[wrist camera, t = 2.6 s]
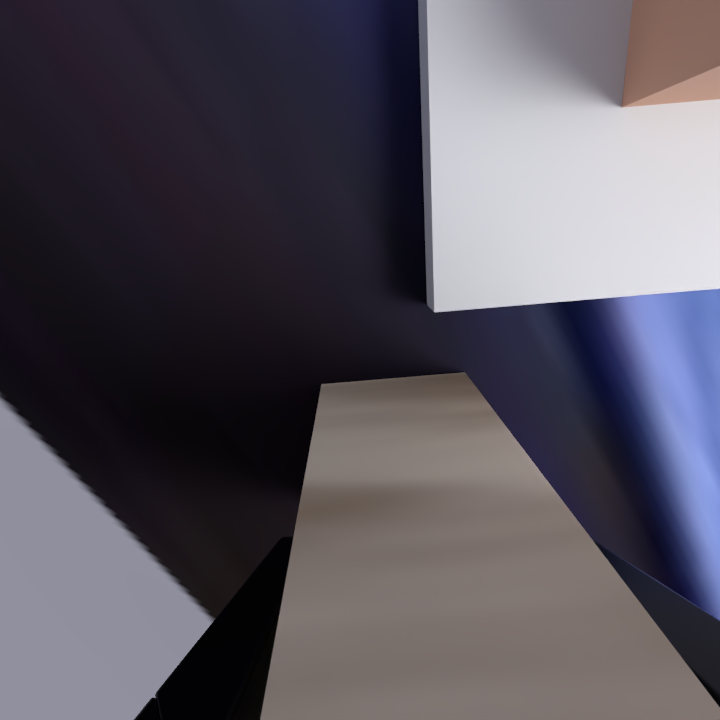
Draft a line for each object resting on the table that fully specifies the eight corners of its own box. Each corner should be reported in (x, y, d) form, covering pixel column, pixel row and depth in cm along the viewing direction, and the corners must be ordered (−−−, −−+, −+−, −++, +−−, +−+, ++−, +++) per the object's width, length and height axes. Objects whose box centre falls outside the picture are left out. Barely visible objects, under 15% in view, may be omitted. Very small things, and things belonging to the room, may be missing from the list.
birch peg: (464, 493, 13) (795, 1281, 3) (335, 504, 13) (292, 1314, 3) (464, 372, 11) (1004, 1080, 2) (321, 384, 12) (184, 1141, 2)
